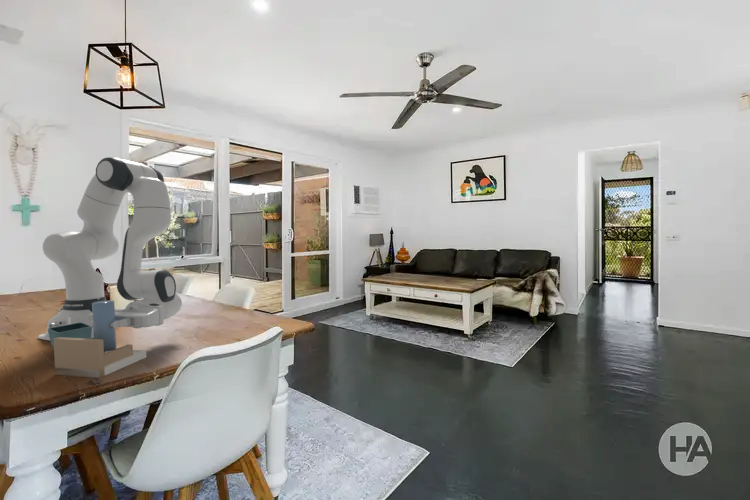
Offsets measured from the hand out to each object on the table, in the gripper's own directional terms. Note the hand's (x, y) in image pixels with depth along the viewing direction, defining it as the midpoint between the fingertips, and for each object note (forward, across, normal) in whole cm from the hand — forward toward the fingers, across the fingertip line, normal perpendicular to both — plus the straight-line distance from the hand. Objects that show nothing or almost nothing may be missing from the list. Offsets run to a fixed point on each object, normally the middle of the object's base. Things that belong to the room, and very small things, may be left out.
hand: (101, 325), depth 104 cm
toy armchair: (0, 0, +12) cm, 12 cm away
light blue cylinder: (-1, 0, +8) cm, 8 cm away
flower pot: (-6, -18, +12) cm, 23 cm away
